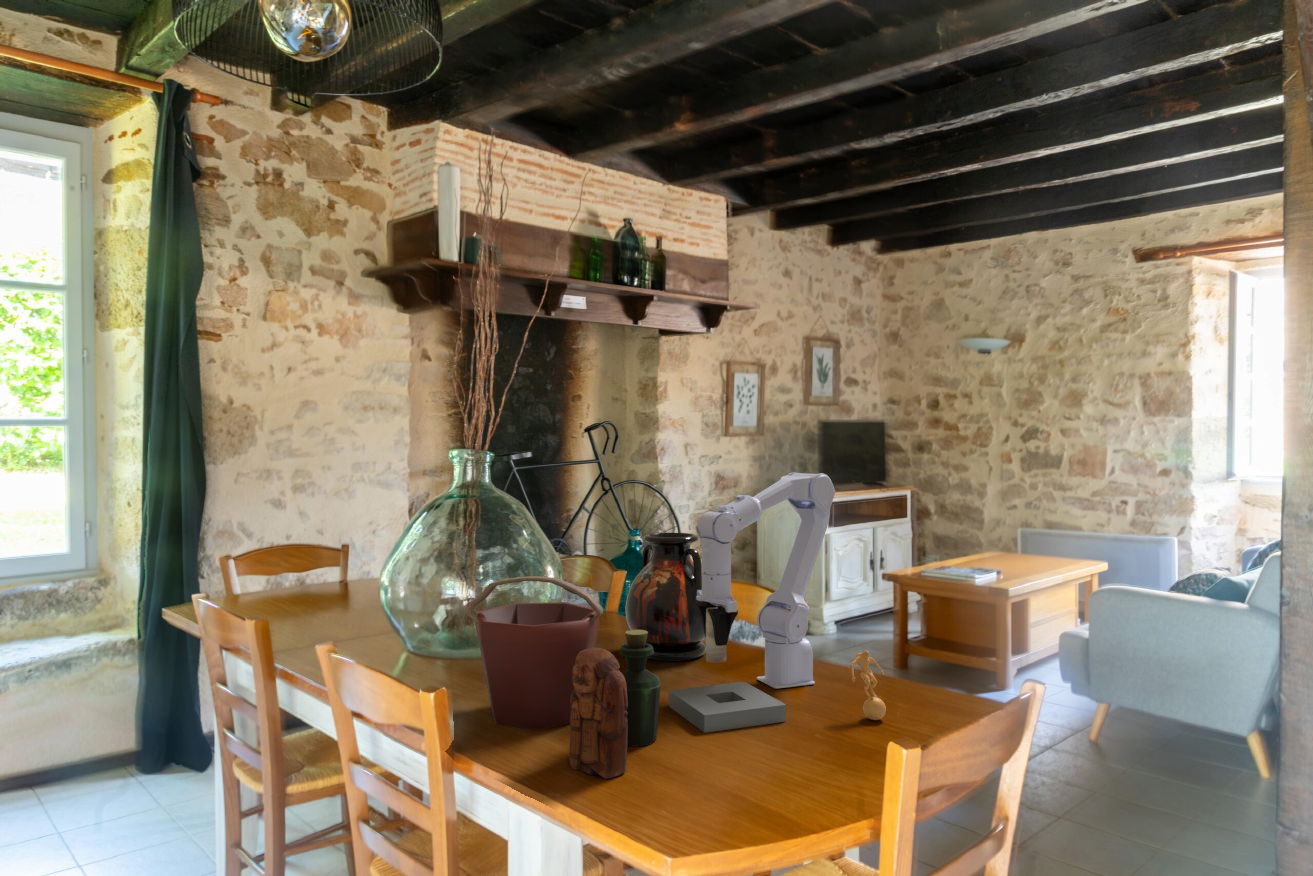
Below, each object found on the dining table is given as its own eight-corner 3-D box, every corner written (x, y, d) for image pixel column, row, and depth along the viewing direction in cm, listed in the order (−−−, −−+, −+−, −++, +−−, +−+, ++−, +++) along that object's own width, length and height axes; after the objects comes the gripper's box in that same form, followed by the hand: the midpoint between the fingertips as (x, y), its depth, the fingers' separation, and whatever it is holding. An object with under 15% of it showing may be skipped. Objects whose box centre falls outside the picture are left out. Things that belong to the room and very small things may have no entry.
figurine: (867, 727, 151) (867, 658, 151) (841, 718, 156) (841, 651, 156) (898, 718, 156) (898, 651, 156) (872, 709, 161) (872, 645, 161)
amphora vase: (606, 653, 204) (606, 534, 204) (672, 639, 218) (672, 528, 218) (668, 671, 188) (668, 542, 188) (736, 655, 202) (735, 535, 203)
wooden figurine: (555, 762, 134) (555, 646, 134) (586, 752, 139) (586, 640, 139) (606, 783, 126) (606, 660, 126) (637, 772, 130) (637, 652, 131)
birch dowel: (720, 657, 172) (721, 606, 172) (729, 661, 168) (729, 610, 168) (702, 658, 170) (702, 608, 171) (711, 663, 167) (711, 611, 167)
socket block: (744, 697, 169) (744, 681, 169) (786, 721, 154) (786, 704, 154) (668, 706, 163) (668, 690, 163) (704, 732, 148) (704, 715, 148)
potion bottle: (665, 733, 148) (665, 628, 148) (655, 750, 140) (655, 638, 140) (619, 730, 149) (619, 626, 149) (606, 746, 141) (606, 636, 141)
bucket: (445, 724, 153) (445, 582, 153) (511, 690, 173) (511, 566, 173) (569, 741, 144) (569, 591, 144) (622, 704, 164) (622, 572, 164)
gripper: (683, 569, 175) (683, 636, 175) (713, 579, 161) (713, 652, 161) (715, 567, 177) (714, 633, 177) (747, 577, 164) (747, 649, 164)
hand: (716, 642), depth 169 cm, fingers closed on birch dowel, 4 cm apart
